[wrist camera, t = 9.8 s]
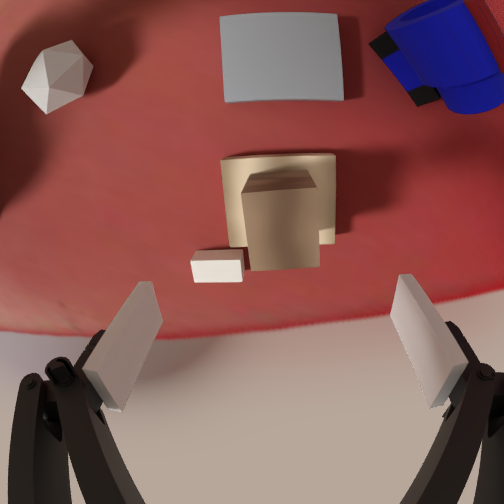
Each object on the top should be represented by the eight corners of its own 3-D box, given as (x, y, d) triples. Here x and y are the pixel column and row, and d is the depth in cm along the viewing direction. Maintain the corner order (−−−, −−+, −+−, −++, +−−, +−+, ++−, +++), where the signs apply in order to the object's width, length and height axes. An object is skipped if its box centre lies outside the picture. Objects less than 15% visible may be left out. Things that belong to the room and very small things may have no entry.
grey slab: (229, 103, 29) (224, 102, 27) (224, 24, 25) (219, 16, 22) (338, 101, 28) (343, 100, 26) (332, 22, 24) (337, 14, 21)
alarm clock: (425, 0, 20) (490, -38, 6) (481, 78, 23) (561, 79, 10) (363, 39, 24) (419, -5, 11) (427, 122, 27) (509, 137, 14)
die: (84, 34, 25) (15, 53, 19) (108, 38, 23) (23, 59, 17) (83, 88, 32) (20, 110, 26) (106, 103, 29) (30, 130, 23)
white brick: (200, 270, 39) (194, 282, 36) (196, 249, 37) (190, 260, 35) (244, 269, 38) (242, 281, 35) (243, 248, 37) (240, 259, 34)
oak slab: (233, 237, 37) (229, 247, 34) (225, 156, 32) (220, 160, 30) (330, 233, 35) (334, 243, 33) (330, 152, 31) (335, 155, 28)
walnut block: (257, 235, 33) (251, 271, 26) (249, 174, 30) (240, 193, 23) (310, 231, 32) (319, 266, 25) (307, 169, 29) (317, 187, 22)
